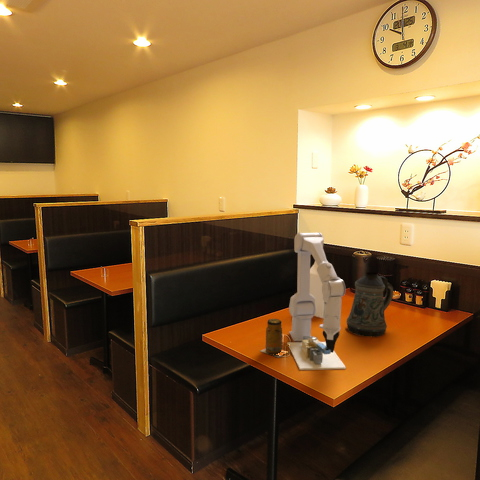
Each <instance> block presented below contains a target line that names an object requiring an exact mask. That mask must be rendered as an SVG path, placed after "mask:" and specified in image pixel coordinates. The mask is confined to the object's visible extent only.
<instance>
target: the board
mask: <svg viewBox="0 0 480 480" xmlns="http://www.w3.org/2000/svg"><path fill="white" fill-rule="evenodd" d="M319 342H320V343H323V344H324V345H325V346H326V341H319ZM289 344H290V346H288V345H289ZM287 346H288V348H289V350H290V352H291V354H292V357H293V358H294V359H293V360H294V361H295V362H296V365H297V367H298V369H299V370H300V371H313V370H314V371H317V370H321V371H322V370H346V369H347V367H346V365H345V364H344V363H343V361H342V359H340V357H339V356H338V355H337V353H336V351H335V350H334V351H333V353H332V352H331V353H330V354H323V358H322V363H321V365H315V363H314V361H310V358H306V357H305V355H304V353H303V352H302V341H293V342H292V341H291V342H289V341H287Z"/></svg>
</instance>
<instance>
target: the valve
mask: <svg viewBox="0 0 480 480" xmlns="http://www.w3.org/2000/svg"><path fill="white" fill-rule="evenodd" d="M308 337H310V336H303V340H302V341H301V342H302V352H303V353H304V355H305V357H306V358H310V361H314V363H315V365H321V363H322V358H323V353H322V352H321V351H320V350H319V349H318V348H316V346H315V345H314V344H313V343H309V342H308ZM317 340H318V341H319V342H320V340H319V339H318V338H317Z"/></svg>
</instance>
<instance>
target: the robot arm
mask: <svg viewBox="0 0 480 480" xmlns="http://www.w3.org/2000/svg"><path fill="white" fill-rule="evenodd" d="M324 239H325V238H324V235H323V234H322V232H320V231H319V232H298V233H296V235H295V236H294V242H293V243H294V245H293V246H294V252H295V253H297V277H296V278H297V283H296V284H297V285H296V286H297V287H296V288H297V292H296V293H294V295H292V296H291V297H290V298H289V299H290V300H289V306H288V311H289V314H290V316H291V317H292V319H291V331H289V332H288V333H289V335H290V337H291V339H292V341H293V342H302V340H303V336H312V335H311V333H312V319H313V318H314V315H315V313H316V303H315V298H314V297H313V296H312V295H311V294H310V268H311V255H312V257H313V259H314V262H315V261H316V263H317V265H318V267H317V272H318V275H319V277H320V279H321V282H322V284H323V285H322V293H323V301H324V317H323V318H322V319H323V321H322V324H319V328H320V329H323V331H322V336H323V338H324V342H326V347H328V348H329V349H330V350H331V352H332V353H333V351H334V352H335V346H336V343H337V340H338V339H339V337H340V331H341V328H342V327H341V319H342V316H341V315H342V313H341V312H342V300H343V299H342V297H344V296H345V294H346V292H347V291H346V284H345V281H344V280H343V279H341V278H340V277H339V276H338V275H337V273H336V271H335V268H334V266H333V264H332V263H330V262H329V261H328V260H327V256H326V253H325V250H324V243H325V242H324ZM327 261H328V262H327Z"/></svg>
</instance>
